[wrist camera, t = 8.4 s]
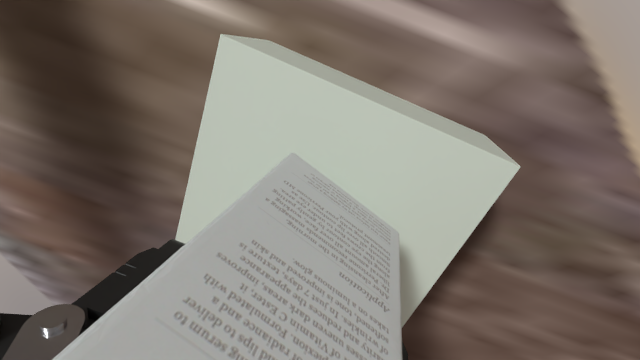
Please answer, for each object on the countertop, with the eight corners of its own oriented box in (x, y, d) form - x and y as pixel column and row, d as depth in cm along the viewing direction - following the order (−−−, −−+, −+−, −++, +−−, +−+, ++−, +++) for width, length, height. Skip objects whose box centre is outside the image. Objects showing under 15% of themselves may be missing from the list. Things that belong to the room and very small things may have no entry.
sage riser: (270, 40, 19) (220, 34, 14) (483, 134, 18) (520, 166, 13) (219, 218, 25) (169, 264, 20) (379, 295, 24) (374, 364, 19)
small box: (298, 332, 16) (150, 747, 6) (209, 266, 16) (-85, 596, 6) (405, 230, 13) (434, 786, 3) (293, 145, 12) (-64, 453, 3)
